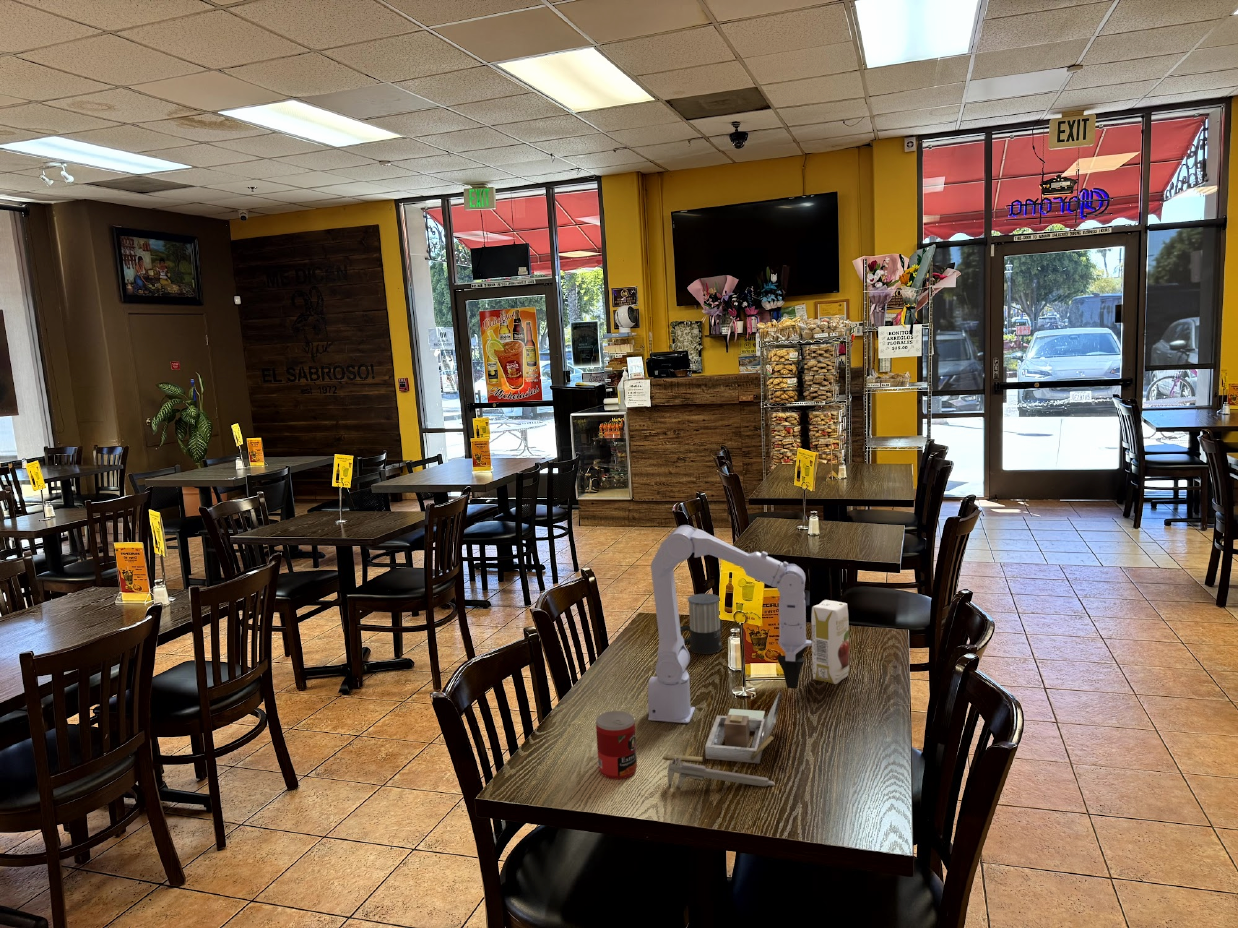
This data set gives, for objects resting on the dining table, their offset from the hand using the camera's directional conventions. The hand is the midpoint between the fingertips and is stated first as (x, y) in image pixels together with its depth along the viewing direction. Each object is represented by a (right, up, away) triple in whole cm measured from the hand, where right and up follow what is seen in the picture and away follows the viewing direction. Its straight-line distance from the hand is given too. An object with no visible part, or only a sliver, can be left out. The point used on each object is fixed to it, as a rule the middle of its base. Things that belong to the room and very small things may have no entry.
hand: (793, 680), depth 183 cm
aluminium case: (-13, -12, -7) cm, 19 cm away
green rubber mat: (-10, -10, +5) cm, 15 cm away
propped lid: (-8, -11, -9) cm, 16 cm away
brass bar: (-25, -13, -12) cm, 31 cm away
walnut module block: (-13, -12, -7) cm, 19 cm away
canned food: (-39, -14, -15) cm, 44 cm away
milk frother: (-17, -4, +54) cm, 56 cm away
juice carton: (+15, -6, +26) cm, 30 cm away
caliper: (-19, -15, -23) cm, 33 cm away
